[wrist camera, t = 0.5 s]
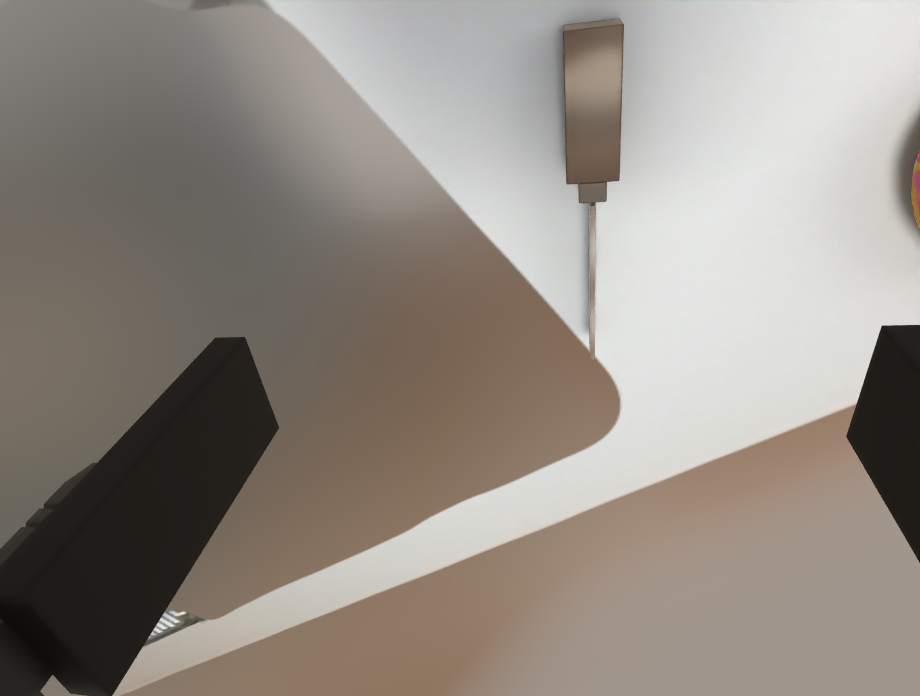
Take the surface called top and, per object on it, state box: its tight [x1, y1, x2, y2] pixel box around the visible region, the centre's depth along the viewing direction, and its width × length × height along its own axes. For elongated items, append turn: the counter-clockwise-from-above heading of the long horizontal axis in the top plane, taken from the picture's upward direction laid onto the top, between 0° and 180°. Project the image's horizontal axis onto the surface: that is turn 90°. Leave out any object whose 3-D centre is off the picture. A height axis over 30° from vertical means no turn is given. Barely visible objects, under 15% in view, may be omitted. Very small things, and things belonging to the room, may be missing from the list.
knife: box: [563, 18, 624, 359], centre depth 36 cm, size 20×3×4 cm, turn 7°
